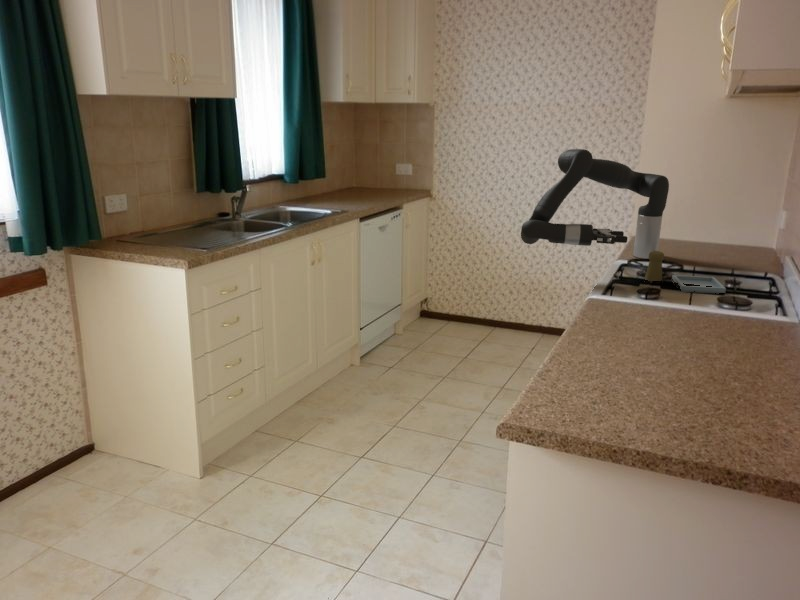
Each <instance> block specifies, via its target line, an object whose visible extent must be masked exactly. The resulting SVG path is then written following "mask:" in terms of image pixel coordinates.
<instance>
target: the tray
mask: <svg viewBox="0 0 800 600" xmlns="http://www.w3.org/2000/svg"><path fill="white" fill-rule="evenodd" d="M672 279H673V280H674V282H676V283H678V285H679V286H680V289H681V291H680V292H683V293H696V294H697V293H698V294H700V293H701V294H715V293H716V294H719V293H725V294H726V291H727V288H726V287H725V286H724V285H723V284H722V283H721V282H720V281H719V280H718V279H717V278H715V276H700V275H698V276H696V275H679V274H672V276H671V280H672ZM674 282H673V283H674ZM683 283H684V284H694V285H700V286H686V285H684V284H683ZM706 286H712V287H706ZM694 291H695V292H694ZM719 295H720V294H719Z"/></svg>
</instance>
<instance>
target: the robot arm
mask: <svg viewBox="0 0 800 600" xmlns="http://www.w3.org/2000/svg"><path fill="white" fill-rule="evenodd" d="M557 165H558V168H559V169H560V171H561V172H562V173H563V174H564V175H563V177H562V178H561V179H560V180H559V181H558V182H556V183H555V184H554V185H553V186H552V187H550V188H549V189H548V190H547V191H546V192H545V193H544V194H543V196H541V198H540V200H539V201H538V203H537V204H536V206H535V207H534V209H533V212H532V215H531V216H530V218H529V220H526V221H525V222H524V223H523V224H522V225H521V229H520V238H521V241H523V243H525V244H527V245H534V244H535V243H537V242H538V241H539V240H546V241H548V242H549V243H551V244H564V245H569V246H570V245H571V246H587V247H589V246H591V245H592V243H593V241H596V243H597V244H609V245H615V244H616V243H618V244H619V243H621V244H622V243H623V244H627V242H628V236H626V235H625V234H624V231H623V230H622V231H621V230H620V231H617V230H612V229H610V228H594V225H592V224H587V223H586V224H585V223H552V222H550V221H551V220H552V218H553V217H554V216H555V214H556V213H557V211H558V209H559V208H560V206H561V205H562V203H563V202H564V200H565V199H566V198H567V197H568V195H569V194H570V193H571V192H572V191H573V190H574V188H575V187H577V185H578V184H579V183H580V182H581V181H582V180H583V178H586V179H589V180H591V181H594V182H597V183H600V184H602V185H605V186H608V187H612V188H616V189H621V190H622V189H623V190H625V189H626V190H629V191H632V192H633V193H635V194H638V195H640V196H642V197H645V198H648V202H647V203H646V204H645V205H642V206H640V207H639V208H638V212H637V220H636V226H635V227H636V229H635V236H634V245H633V254H632V256H633V257H635V258H638V259H646V260H649V257H648V256H649V253H650V252H652V251H659V243H660V236H661V229H662V220H663V214H664V210H665V209H666V207H667V200H668V195H669V190H670V189H669V188H670V183H669V179H668V178H667V176H665V175H661V174H657V173H655V174H654V173H645V172H639V171H634V170H632V169H631V168H630V167H629V166H628V165H626V164H624V163H620V162H618V161H616V160H615V161H614V160H611V159H610V160H608V159H601V158H593V155H592V153H591V152H590V151H589V150H588V149H584V148H583V149H581V148H576V149H575V148H574V149H570V148H569V149H567V150H565V151H562V152H561V154H559V155H558V158H557Z"/></svg>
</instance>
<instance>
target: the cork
mask: <svg viewBox="0 0 800 600" xmlns="http://www.w3.org/2000/svg"><path fill="white" fill-rule="evenodd" d="M648 257H649V259H648V260H649V262H648V264H647V267H646V268H647V269H646V272H645V275H644V279H645V280H648V281H661V280H662V281H663V261H664V259H665V253H664V252H663V251H659V250H658V251H652V252H650V253H649V256H648Z"/></svg>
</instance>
